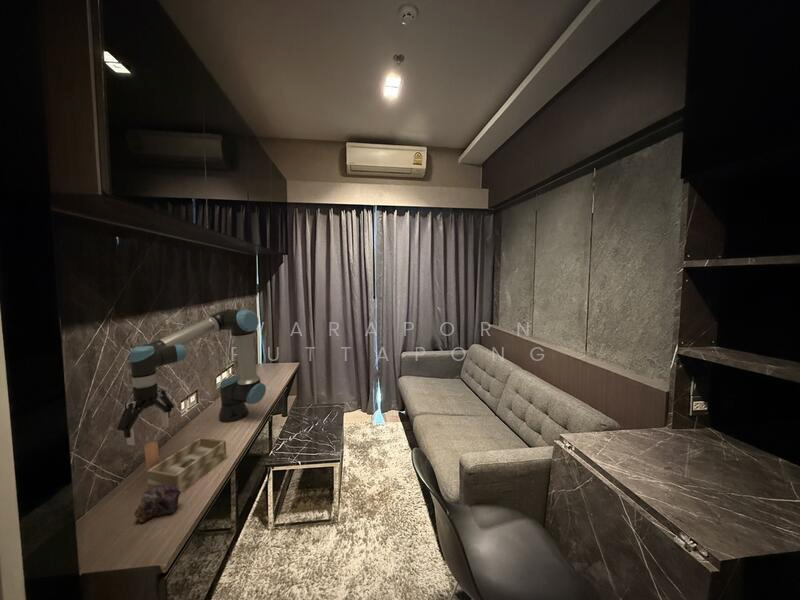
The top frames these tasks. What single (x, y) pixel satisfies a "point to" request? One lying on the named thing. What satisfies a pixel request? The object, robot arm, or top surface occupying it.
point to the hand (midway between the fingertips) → (149, 435)
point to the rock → (157, 502)
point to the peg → (151, 454)
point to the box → (188, 464)
